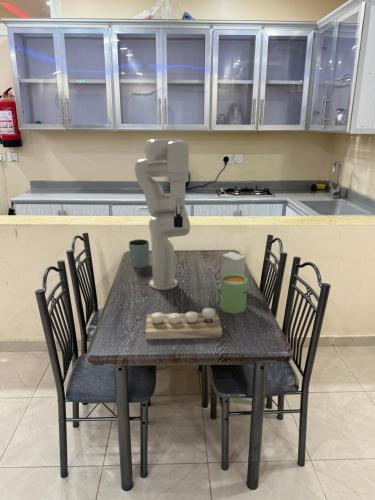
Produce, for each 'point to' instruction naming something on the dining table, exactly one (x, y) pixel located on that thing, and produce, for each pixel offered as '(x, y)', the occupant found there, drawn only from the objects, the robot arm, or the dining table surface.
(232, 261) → the skincare box
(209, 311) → the egg
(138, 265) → the teal cup
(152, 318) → the off-white oval piece
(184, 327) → the board
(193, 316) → the white egg
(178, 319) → the white egg
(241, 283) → the mug
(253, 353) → the dining table surface
